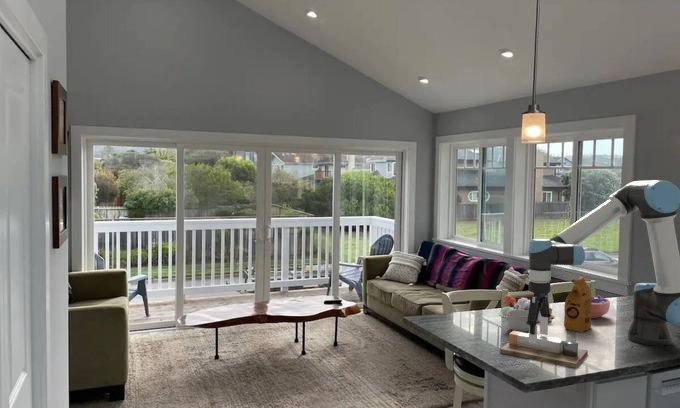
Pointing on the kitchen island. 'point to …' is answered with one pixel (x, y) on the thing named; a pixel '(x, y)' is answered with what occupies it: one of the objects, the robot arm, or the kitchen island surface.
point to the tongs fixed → (566, 346)
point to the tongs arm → (541, 343)
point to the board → (545, 355)
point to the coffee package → (578, 307)
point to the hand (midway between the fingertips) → (538, 338)
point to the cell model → (599, 306)
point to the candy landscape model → (518, 306)
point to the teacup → (518, 320)
